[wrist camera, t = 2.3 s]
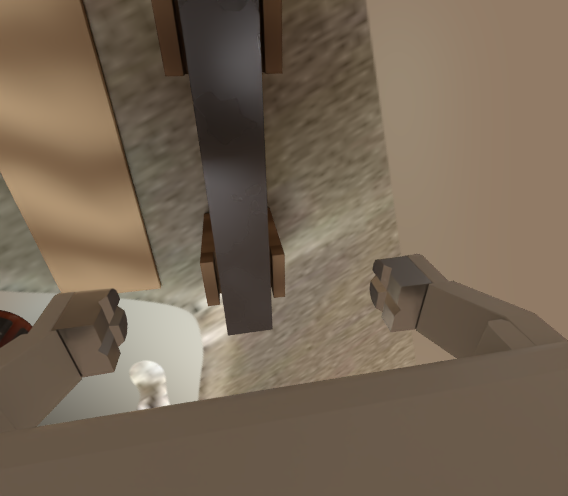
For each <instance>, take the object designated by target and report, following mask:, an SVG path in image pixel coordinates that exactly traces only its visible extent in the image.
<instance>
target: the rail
mask: <svg viewBox="0 0 568 496" xmlns="http://www.w3.org/2000/svg"><path fill="white" fill-rule="evenodd" d="M178 5H179V12H180V18H181V25H182V32H183V38H184V45H185V52H186V58H187V65H188V72H189V78H190V85H191V92H192V98H193V105H194V112H195V118H196V125H197V132H198V138H199V145H200V152H201V158H202V165H203V172H204V178H205V185H206V192H207V198H208V205H209V212H210V218H211V225H212V232H213V238H214V245H215V252H216V258H217V265H218V272H219V278H220V285H221V292H222V298H223V305H224V312H225V318H226V325H227V332H228V335H235V334H242V333H249V332H256V331H264V330H271V329H272V306H271V283H270V259H269V235H268V211H267V188H266V164H265V140H264V116H263V93H262V69H261V45H260V22H259V0H178Z"/></svg>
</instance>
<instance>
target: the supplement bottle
mask: <svg viewBox="0 0 568 496" xmlns="http://www.w3.org/2000/svg"><path fill="white" fill-rule="evenodd" d="M31 328H32V326H31V324H30V323H28V322H27V321H26V320H24V319H23V318H21V317H20V316H17V315H15V314H13V313H10V312H7V311H2V310H0V348H1V347H3V346H4V345H6V344H7V343H9V342H11V341H12V340H14V339H15V338H17V337H18V336H20V335H22V334H28V333H29V331H30V330H31Z"/></svg>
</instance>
